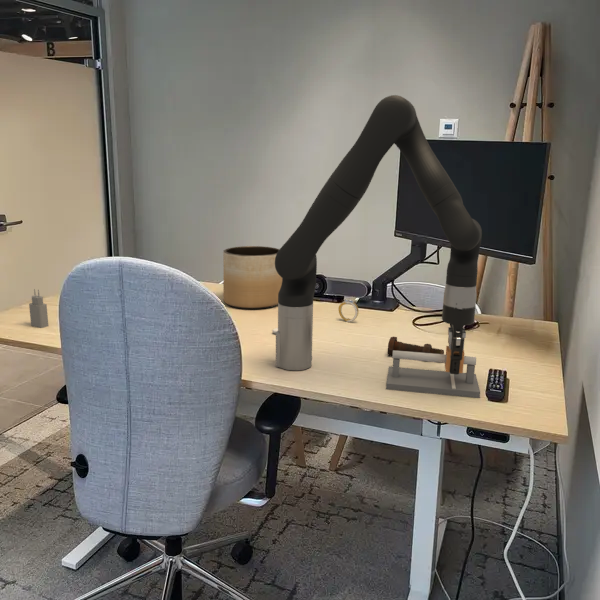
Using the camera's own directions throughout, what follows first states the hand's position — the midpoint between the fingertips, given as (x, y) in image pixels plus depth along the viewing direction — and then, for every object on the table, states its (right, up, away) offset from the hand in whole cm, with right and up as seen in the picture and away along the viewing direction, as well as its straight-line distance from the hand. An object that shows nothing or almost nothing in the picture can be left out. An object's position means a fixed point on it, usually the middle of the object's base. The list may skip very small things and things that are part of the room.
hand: (453, 369), depth 144 cm
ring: (-21, +10, +55) cm, 60 cm away
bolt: (-5, 0, +21) cm, 22 cm away
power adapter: (-122, +9, +44) cm, 130 cm away
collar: (0, 0, 0) cm, 0 cm away
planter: (-56, +16, +77) cm, 96 cm away
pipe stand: (-5, -4, +2) cm, 7 cm away
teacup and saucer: (-46, +7, +44) cm, 64 cm away
